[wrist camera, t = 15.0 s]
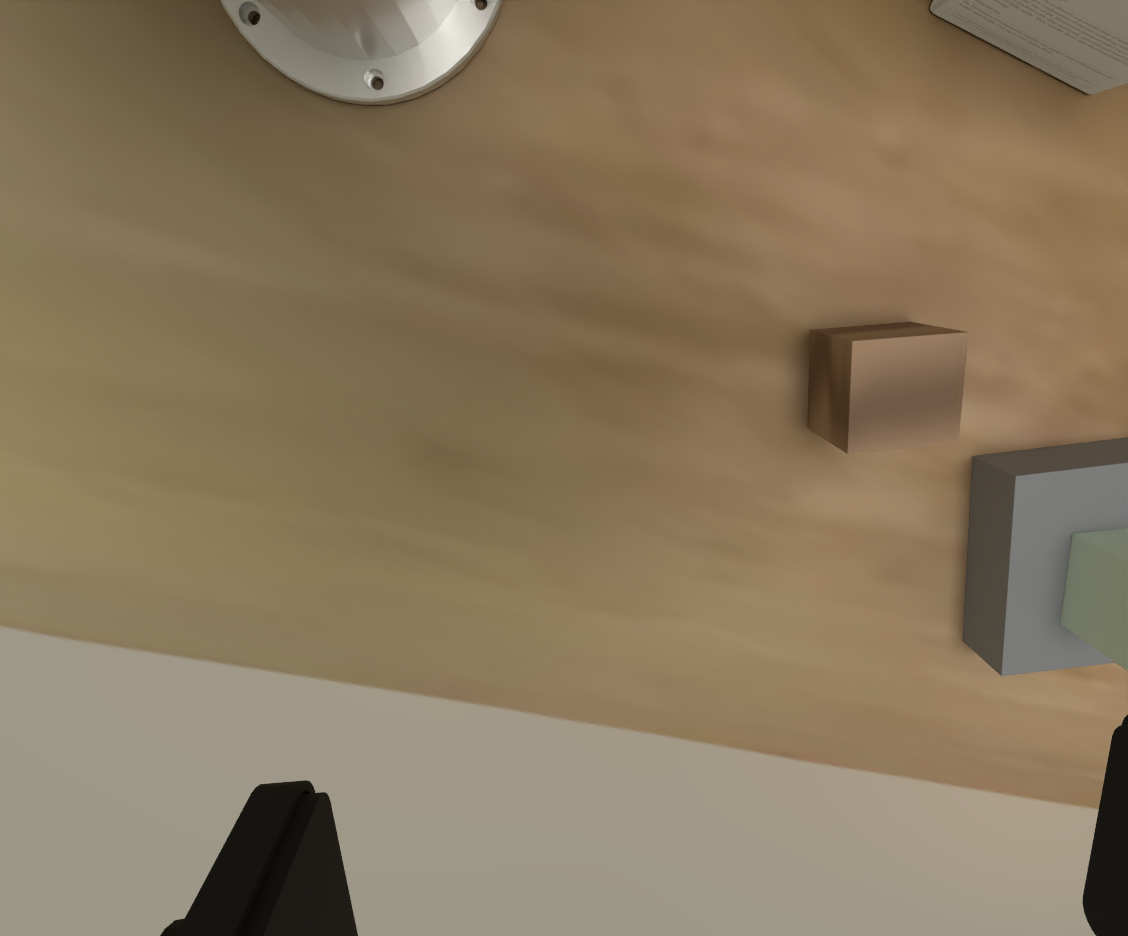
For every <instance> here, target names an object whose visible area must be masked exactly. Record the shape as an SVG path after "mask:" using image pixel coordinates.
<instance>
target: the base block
mask: <svg viewBox="0 0 1128 936" xmlns="http://www.w3.org/2000/svg"><path fill="white" fill-rule="evenodd" d="M1124 528H1128V438H1120V439H1111V440H1103V441H1095V442H1087V443H1078V444H1070V445H1062V446H1054V447H1045V448H1037V449H1029V450H1020V451H1012V452H1004V453H996V454H987V455H979V456H972V474H971V493H970V512H969V531H968V549H967V568H966V587H965V605H964V624H963V642H964V643H966V644H967V645H968V646H969V647H970V648H971V649H972V650H973V651H974V652H975V653H977V654H978V655H979V656H980V657H981V658H982V659H983V660H984V661H985V662H987V663H988V664H989V665H990V666H991V667H992V668H993V669H994V670H995V671H996V672H998V673H999V674H1000V675H1001V676H1007V675H1015V674H1024V673H1032V672H1040V671H1049V670H1057V669H1065V668H1074V667H1082V666H1091V665H1099V664H1107V663H1115V662H1114V661H1112V660H1111V659H1109V658H1108V657H1107V656H1105V655H1104V654H1102V653H1101V652H1099V651H1098V650H1097V649H1095V648H1094V647H1092V646H1091V645H1089V644H1088V643H1087V642H1085V641H1084V640H1082V639H1081V638H1079V637H1078V636H1077V635H1075V634H1074V633H1072V632H1071V631H1069V630H1068V629H1067V628H1065V627H1064V626H1062V625H1061V624H1060V623H1061V615H1062V608H1063V601H1064V593H1065V586H1066V579H1067V571H1068V564H1069V557H1070V549H1071V542H1072V534H1073V533H1081V532H1091V531H1102V530H1113V529H1124Z"/></svg>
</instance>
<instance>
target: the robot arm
mask: <svg viewBox="0 0 1128 936" xmlns="http://www.w3.org/2000/svg"><path fill="white" fill-rule="evenodd" d="M220 1H221V4H222V6H223V7H224V9H225V10H226V12H227V13H228V15H229V16H230V18H231V19H232V21H233V22H234V24H235V26H236V27H237V29H238V30H239V32H240V33H241V34H242V35H243V37H244V38H245V39H246V40H247V41H248V42H249V43H250V44H251V45H252V46H253V47H254V49H255V50H256V51H257V52H258V53H259V54H260V55H261V56H262V57H263V58H264V59H265V60H266V61H268V62H269V63H270V64H271V65H273V66H274V67H275V68H276V69H278V70H279V71H280V72H281V73H283V74H285V75H286V76H287V77H289V78H290V79H292V80H294V81H295V82H297V83H298V84H300V85H302V86H303V87H305V88H306V89H309V90H311V91H314V92H316V93H318V94H321V95H323V96H326V97H328V98H331V99H333V100H338V101H343V102H348V103H354V104H359V105H389V104H393V103H397V102H402V101H406V100H410V99H415V98H417V97H419V96H421V95H423V94H425V93H428V92H430V91H432V90H434V89H436V88H438V87H440V86H441V85H443V84H444V83H445V82H447V81H448V80H449V79H451V78H452V77H453V76H454V75H456V74H457V73H458V72H460V71H461V70H462V69H463V68H464V67H465V66H466V65H467V63H468V62H469V61H470V60H471V59H472V58H473V56H474V55H475V54H476V53H477V52H478V51H479V50H480V48H481V47H482V45H483V43H484V42H485V40H486V38H487V37H488V35H489V33H490V31H491V30H492V28H493V26H494V24H495V23H496V20H497V17H498V14H499V12H500V9H501V6H502V3H503V1H504V0H485V1H486V2H487V7H486V8H485V9H484V10H478V9H477V8H476V2H477V1H478V0H220ZM257 14H259V15H260V20H259V22H258V23H257V24H256V25H253V23H252V18H253V17H254V15H257ZM376 79H382V80H383V82H384V86H383V88H382V89H380V90H375V89H374V86H373V85H374V81H375V80H376ZM1083 908H1084V913H1085V915H1086V918H1087V921H1088V923H1089V925H1090V927H1091V929H1092V930H1093V932H1094V933H1095V935H1096V936H1128V715H1127V716H1126V717H1125V718H1124V720H1123V723H1122V725H1121V726H1118V727H1117V728H1116V729H1115V730H1114V733H1113V736H1112V740H1111V746H1110V751H1109V757H1108V762H1107V768H1106V773H1105V779H1104V784H1103V790H1102V795H1101V800H1100V806H1099V811H1098V817H1097V823H1096V828H1095V833H1094V839H1093V844H1092V850H1091V855H1090V861H1089V866H1088V872H1087V877H1086V883H1085V888H1084V894H1083ZM160 936H358V934H357V929H356V924H355V920H354V915H353V910H352V905H351V900H350V895H349V890H348V885H347V881H346V875H345V871H344V866H343V861H342V856H341V851H340V846H339V841H338V836H337V831H336V826H335V822H334V817H333V812H332V807H331V802H330V799H329V796H328V795H327V793H324V792H323V793H315V790H314V787H313V785H312V784H311V783H310V781H295V782H283V783H271V784H260V785H259V786H257V787H256V788H255V789H254V791H253V792H252V793H251V795H250V797H249V799H248V801H247V803H246V804H245V806H244V808H243V811H242V812H241V814H240V816H239V818H238V820H237V821H236V823H235V825H234V827H233V829H232V831H231V833H230V835H229V836H228V838H227V840H226V842H225V844H224V846H223V848H222V850H221V852H220V853H219V855H218V857H217V859H216V861H215V863H214V865H213V867H212V868H211V870H210V872H209V874H208V876H207V878H206V880H205V882H204V883H203V885H202V887H201V889H200V891H199V893H198V895H197V897H196V898H195V900H194V902H193V904H192V906H191V908H190V910H189V912H188V914H187V915H186V917H185V919H180V920H175V921H174V922H173V923H171V924H170V925H169V926H168V927H167V928H165V929H164V931H163V932H162V934H161V935H160Z"/></svg>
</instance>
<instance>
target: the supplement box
mask: <svg viewBox="0 0 1128 936" xmlns="http://www.w3.org/2000/svg"><path fill="white" fill-rule="evenodd" d="M930 10H931V12H932V13H933V14H935V15H937V16H939V17H941V18H943V19H945V20H947V21H949V22H951V23H952V24H954V25H956V26H958V27H960V28H962V29H964V30H966V31H968V32H970V33H972V34H974V35H975V36H977V37H979V38H981V39H983V40H985V41H987V42H989V43H991V44H993V45H995V46H997V47H999V48H1000V49H1002V50H1004V51H1006V52H1008V53H1010V54H1012V55H1014V56H1016V57H1018V58H1020V59H1021V60H1023V61H1025V62H1027V63H1029V64H1031V65H1033V66H1035V67H1037V68H1039V69H1041V70H1043V71H1044V72H1046V73H1048V74H1050V75H1052V76H1054V77H1056V78H1058V79H1060V80H1062V81H1064V82H1066V83H1068V84H1070V85H1071V86H1073V87H1075V88H1077V89H1079V90H1081V91H1083V92H1085V93H1087V94H1091V95H1092V94H1096V93H1099V92H1102V91H1106V90H1109V89H1112V88H1115V87H1118V86H1121V85H1125V84H1128V0H933V1H932V4H931V6H930Z"/></svg>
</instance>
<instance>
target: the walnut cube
mask: <svg viewBox="0 0 1128 936" xmlns="http://www.w3.org/2000/svg"><path fill="white" fill-rule="evenodd" d="M967 341H968V332H965V331H959V330H953V329H947V328H942V327H936V326H930V325H925V324H919V323H913V322H905V323H892V324H879V325H866V326H853V327H841V328H828V329H815V330H810V356H809V393H808V429H810V430H811V431H813V432H814V433H816V434H818V435H819V436H821V437H822V438H824V439H825V440H827V441H829V442H830V443H832V444H833V445H835V446H836V447H838V448H840V449H841V450H843V451H844V452H846V453H847V454H849V453H861V452H874V451H886V450H899V449H911V448H924V447H936V446H949V445H958V441H959V430H960V418H961V407H962V396H963V385H964V374H965V363H966V352H967Z"/></svg>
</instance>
